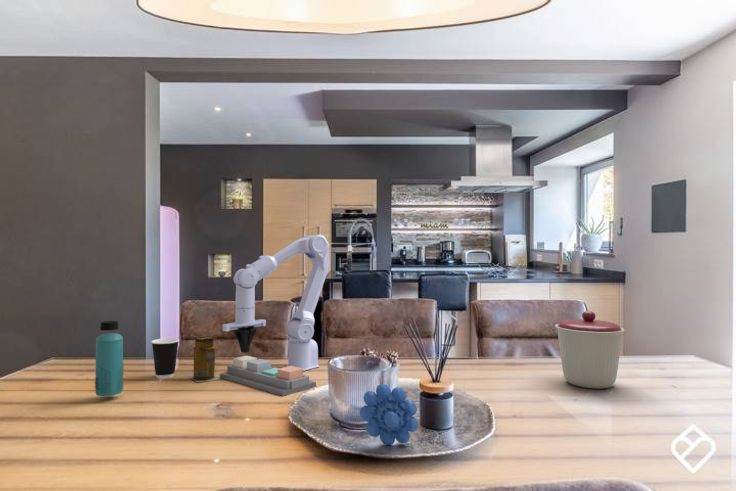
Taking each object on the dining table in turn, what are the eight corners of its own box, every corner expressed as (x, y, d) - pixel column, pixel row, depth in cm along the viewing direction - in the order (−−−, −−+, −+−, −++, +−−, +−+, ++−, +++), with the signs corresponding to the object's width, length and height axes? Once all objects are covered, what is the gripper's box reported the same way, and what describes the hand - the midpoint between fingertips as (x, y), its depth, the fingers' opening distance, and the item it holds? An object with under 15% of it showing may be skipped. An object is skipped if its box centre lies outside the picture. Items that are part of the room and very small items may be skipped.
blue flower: (361, 456, 86) (361, 391, 86) (358, 441, 93) (358, 381, 93) (423, 453, 87) (423, 389, 88) (415, 439, 94) (415, 379, 94)
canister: (609, 397, 121) (608, 316, 122) (543, 383, 135) (543, 310, 135) (635, 385, 133) (634, 311, 134) (572, 372, 147) (572, 306, 147)
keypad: (252, 369, 150) (252, 360, 150) (315, 386, 132) (316, 374, 132) (220, 377, 141) (220, 366, 141) (283, 396, 122) (283, 384, 122)
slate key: (260, 366, 142) (260, 358, 142) (271, 369, 139) (271, 361, 139) (246, 369, 138) (246, 361, 138) (257, 372, 135) (257, 364, 135)
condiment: (211, 373, 146) (212, 335, 146) (221, 379, 139) (221, 339, 139) (187, 377, 141) (188, 337, 142) (196, 383, 135) (196, 341, 135)
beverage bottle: (129, 396, 122) (129, 320, 122) (105, 404, 116) (106, 323, 116) (112, 393, 124) (113, 318, 125) (88, 400, 118) (89, 321, 119)
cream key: (246, 363, 146) (246, 355, 146) (256, 365, 143) (256, 357, 143) (233, 366, 142) (233, 358, 143) (242, 368, 139) (242, 360, 139)
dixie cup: (184, 373, 145) (184, 338, 145) (168, 380, 137) (169, 343, 137) (161, 372, 146) (161, 337, 147) (144, 379, 139) (145, 342, 139)
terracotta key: (291, 374, 133) (291, 365, 133) (303, 377, 130) (303, 368, 130) (277, 377, 129) (277, 369, 129) (289, 381, 126) (289, 372, 126)
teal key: (275, 375, 137) (275, 367, 137) (286, 378, 134) (286, 370, 134) (261, 379, 134) (261, 370, 134) (272, 382, 130) (272, 373, 130)
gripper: (256, 304, 151) (256, 346, 151) (216, 308, 140) (216, 354, 140) (270, 306, 147) (269, 349, 147) (230, 310, 136) (230, 357, 135)
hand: (244, 352), depth 143 cm, fingers closed
